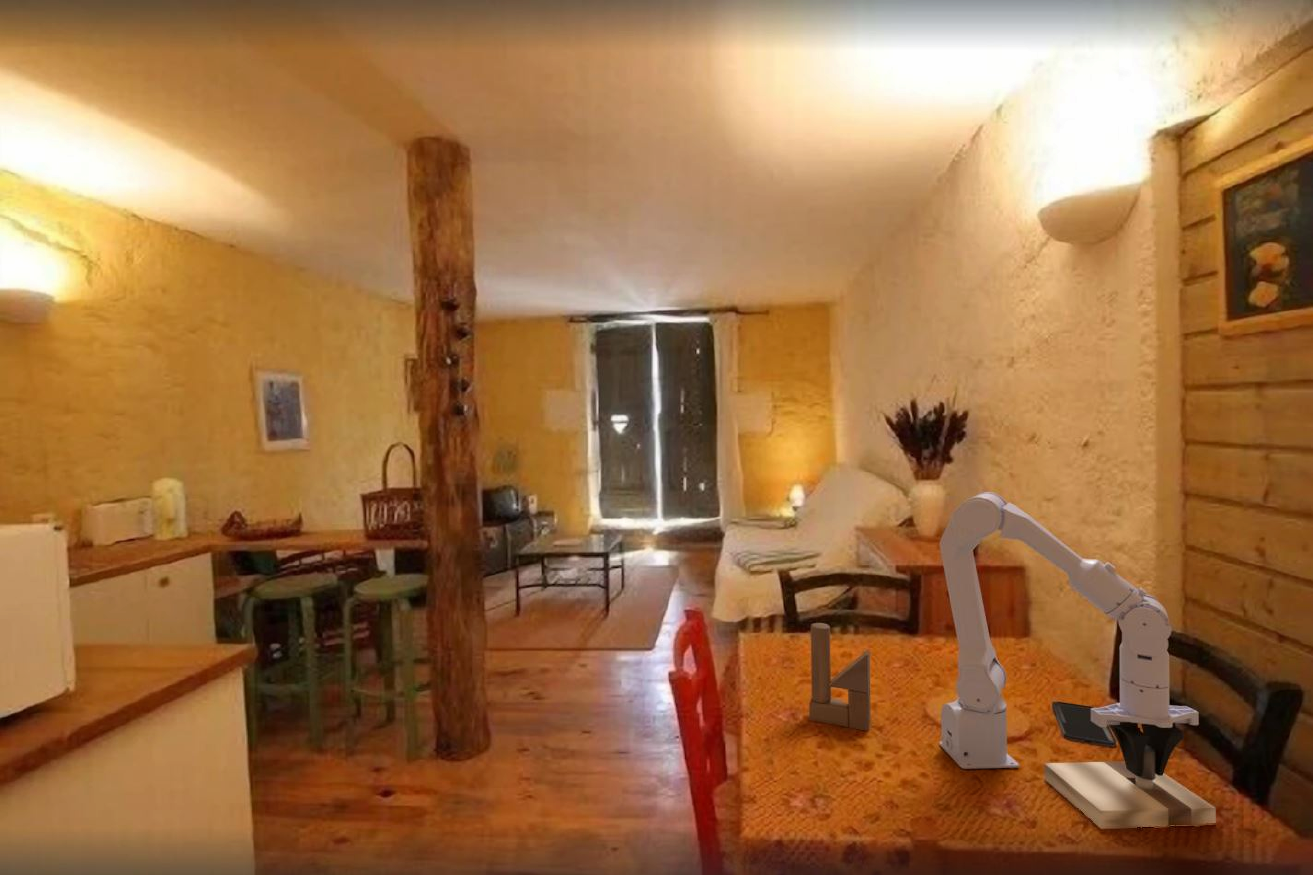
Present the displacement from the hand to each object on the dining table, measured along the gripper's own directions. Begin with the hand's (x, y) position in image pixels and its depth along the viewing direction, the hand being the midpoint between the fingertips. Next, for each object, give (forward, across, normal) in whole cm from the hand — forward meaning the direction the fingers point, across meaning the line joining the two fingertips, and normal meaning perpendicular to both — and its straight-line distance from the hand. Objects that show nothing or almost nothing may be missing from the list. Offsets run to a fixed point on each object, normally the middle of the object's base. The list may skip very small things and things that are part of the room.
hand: (1144, 772), depth 90 cm
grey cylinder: (+3, 0, 0) cm, 3 cm away
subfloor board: (+4, -3, 0) cm, 5 cm away
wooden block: (+4, -37, +26) cm, 45 cm away
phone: (+5, +7, +23) cm, 25 cm away
